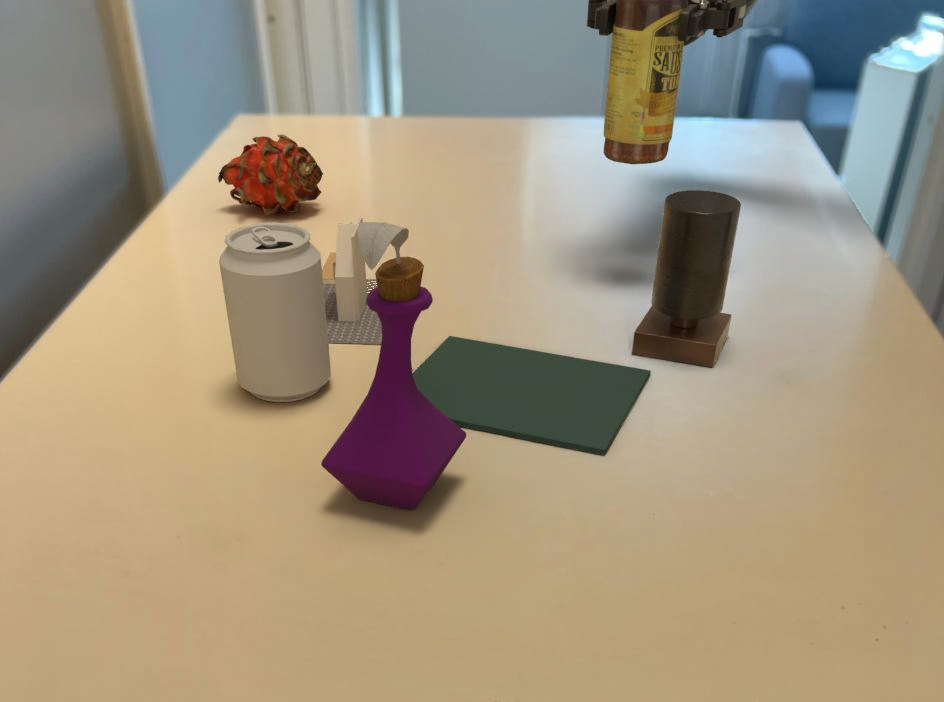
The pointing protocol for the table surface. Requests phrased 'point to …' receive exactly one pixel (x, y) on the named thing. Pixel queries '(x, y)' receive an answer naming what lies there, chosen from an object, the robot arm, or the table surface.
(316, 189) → the dragon fruit
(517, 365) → the mat
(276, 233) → the can
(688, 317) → the dark brown piece
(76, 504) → the table surface
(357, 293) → the architectural model
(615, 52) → the sauce bottle
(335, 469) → the perfume bottle
